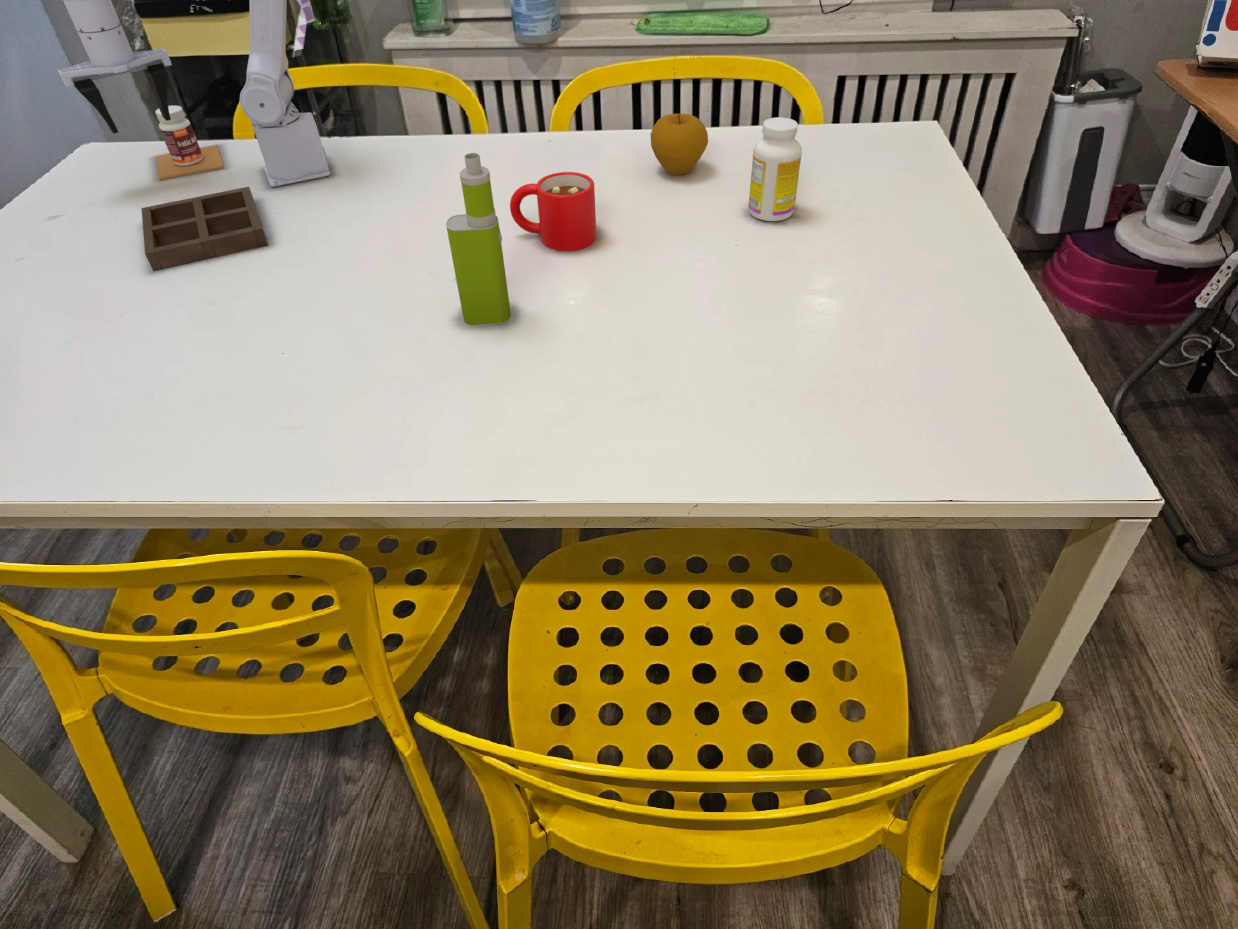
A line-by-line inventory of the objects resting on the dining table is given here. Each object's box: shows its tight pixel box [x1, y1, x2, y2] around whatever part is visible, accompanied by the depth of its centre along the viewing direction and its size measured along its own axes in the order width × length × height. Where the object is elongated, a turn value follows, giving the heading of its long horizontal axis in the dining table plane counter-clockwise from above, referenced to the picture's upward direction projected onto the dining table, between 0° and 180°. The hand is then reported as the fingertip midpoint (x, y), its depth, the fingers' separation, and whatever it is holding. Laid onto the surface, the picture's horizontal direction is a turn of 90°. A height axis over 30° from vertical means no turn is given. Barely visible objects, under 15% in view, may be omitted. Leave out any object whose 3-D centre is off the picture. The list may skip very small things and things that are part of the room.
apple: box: [649, 113, 709, 176], centre depth 124 cm, size 9×9×9 cm
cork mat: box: [155, 144, 225, 181], centre depth 134 cm, size 10×10×1 cm
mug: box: [509, 171, 598, 252], centre depth 110 cm, size 8×12×8 cm, turn 84°
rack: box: [140, 186, 269, 271], centre depth 114 cm, size 15×15×3 cm
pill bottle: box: [155, 105, 203, 166], centre depth 131 cm, size 5×5×8 cm
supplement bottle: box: [748, 116, 803, 222], centre depth 112 cm, size 7×7×13 cm
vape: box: [445, 152, 512, 327], centre depth 91 cm, size 4×6×20 cm, turn 95°
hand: (141, 124), depth 122 cm, fingers open, 7 cm apart
